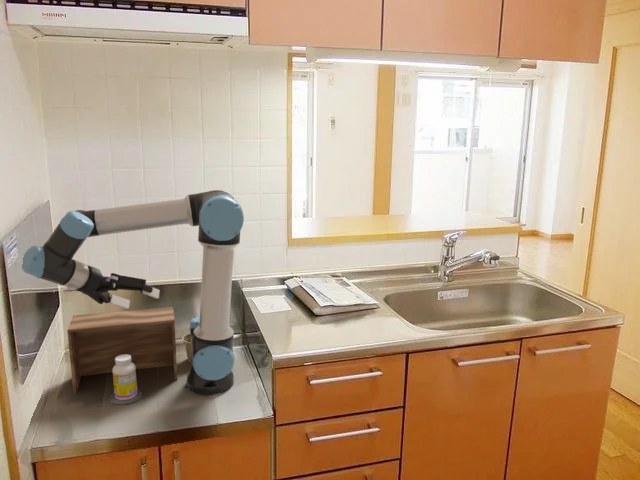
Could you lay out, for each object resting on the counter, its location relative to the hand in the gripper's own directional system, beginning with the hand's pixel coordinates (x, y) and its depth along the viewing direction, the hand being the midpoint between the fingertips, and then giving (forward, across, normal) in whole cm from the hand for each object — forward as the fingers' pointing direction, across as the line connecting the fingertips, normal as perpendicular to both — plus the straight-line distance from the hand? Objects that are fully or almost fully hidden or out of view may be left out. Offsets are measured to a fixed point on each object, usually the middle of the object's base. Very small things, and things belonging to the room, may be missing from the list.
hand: (143, 299), depth 159 cm
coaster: (+10, -15, -26) cm, 31 cm away
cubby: (+16, -23, -17) cm, 33 cm away
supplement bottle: (+10, -15, -26) cm, 31 cm away
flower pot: (+36, -12, -9) cm, 39 cm away
